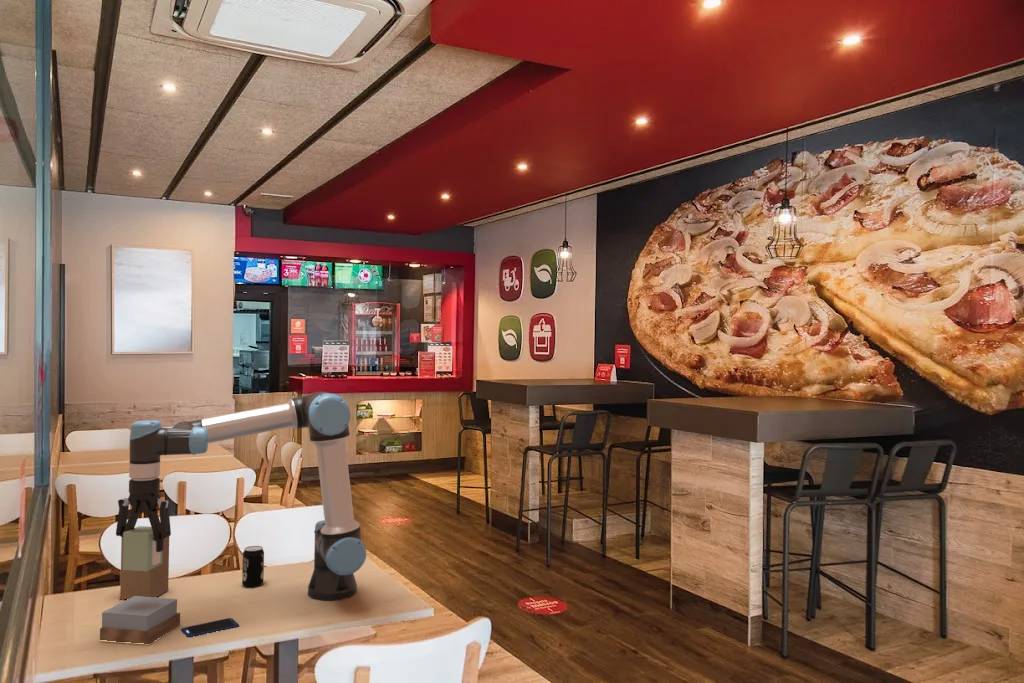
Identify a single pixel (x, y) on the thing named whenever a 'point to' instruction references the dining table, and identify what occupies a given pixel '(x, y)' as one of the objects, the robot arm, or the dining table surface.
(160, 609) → the slate top block
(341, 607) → the dining table surface
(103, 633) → the walnut base block
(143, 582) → the wooden block
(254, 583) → the beverage can
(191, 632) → the cell phone
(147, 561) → the sage block
